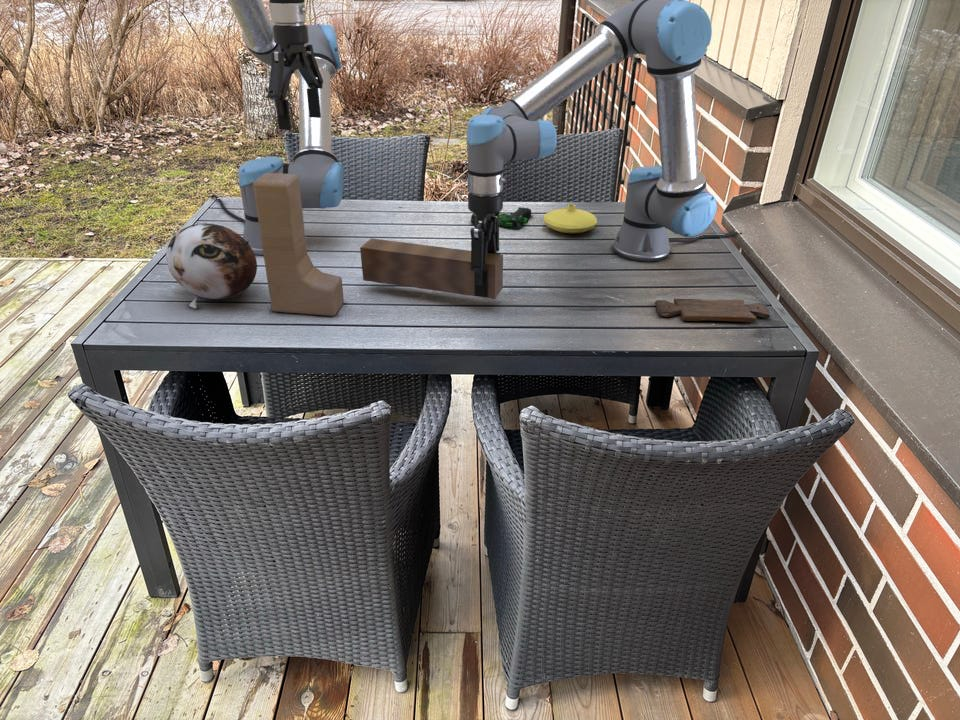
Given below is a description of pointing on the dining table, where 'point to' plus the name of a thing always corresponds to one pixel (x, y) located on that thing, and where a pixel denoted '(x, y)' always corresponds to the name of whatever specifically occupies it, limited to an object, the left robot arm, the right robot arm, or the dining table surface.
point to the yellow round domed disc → (570, 220)
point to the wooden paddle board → (712, 310)
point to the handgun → (512, 218)
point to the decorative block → (291, 251)
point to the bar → (427, 267)
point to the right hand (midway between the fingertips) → (485, 289)
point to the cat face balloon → (211, 261)
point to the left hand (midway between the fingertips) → (300, 123)
